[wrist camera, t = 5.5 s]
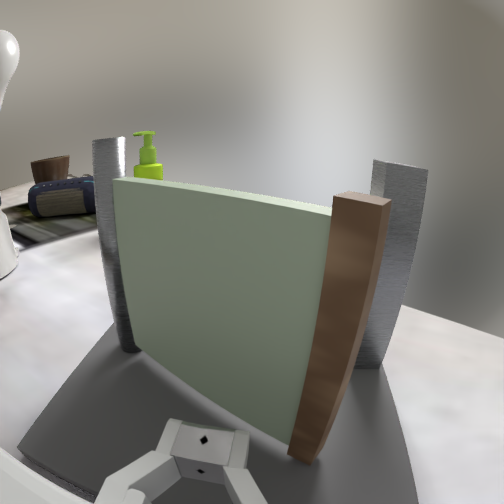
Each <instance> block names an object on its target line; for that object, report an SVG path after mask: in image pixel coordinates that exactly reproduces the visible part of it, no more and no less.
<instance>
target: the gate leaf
mask: <svg viewBox="0 0 504 504" xmlns="http://www.w3.org/2000/svg"><path fill="white" fill-rule="evenodd" d="M112 181H113V198H114V211H115V222H116V232H117V241H118V250H119V257H120V265H121V272H122V278H123V284H124V290H125V296H126V302H127V307H128V312H129V318H130V322H131V327H132V332H133V336H134V341H135V345H137V346H138V347H139V348H140V349H141V350H143V351H144V352H145V353H146V354H148V355H149V356H150V357H151V358H153V359H154V360H155V361H157V362H158V363H159V364H160V365H162V366H163V367H164V368H166V369H167V370H168V371H170V372H171V373H172V374H174V375H175V376H176V377H178V378H179V379H181V380H182V381H183V382H185V383H186V384H188V385H189V386H190V387H192V388H193V389H195V390H196V391H198V392H199V393H201V394H202V395H203V396H205V397H206V398H208V399H209V400H211V401H213V402H214V403H216V404H217V405H219V406H220V407H222V408H223V409H225V410H227V411H228V412H230V413H231V414H233V415H235V416H236V417H238V418H240V419H241V420H243V421H245V422H246V423H248V424H250V425H251V426H253V427H255V428H257V429H258V430H260V431H262V432H264V433H266V434H267V435H269V436H271V437H273V438H275V439H277V440H279V441H280V442H282V443H284V444H286V445H288V446H289V447H288V451H287V455H289V456H291V457H293V458H295V459H297V460H299V461H301V462H303V463H305V464H307V465H309V466H310V465H311V464H312V463H313V461H314V460H315V458H316V457H317V456H318V454H319V453H320V451H321V450H322V448H323V447H324V444H325V442H326V440H327V437H328V435H329V433H330V430H331V428H332V425H333V423H334V420H335V418H336V415H337V413H338V410H339V407H340V405H341V402H342V399H343V397H344V394H345V391H346V388H347V386H348V383H349V380H350V377H351V374H352V371H353V368H354V365H355V362H356V358H357V355H358V352H359V349H360V345H361V342H362V339H363V335H364V332H365V328H366V324H367V321H368V317H369V313H370V309H371V305H372V301H373V297H374V293H375V289H376V285H377V280H378V276H379V271H380V266H381V261H382V256H383V251H384V246H385V240H386V235H387V229H388V223H389V216H390V209H391V202H392V199H387V198H382V197H377V196H373V195H367V194H362V193H357V192H351V191H348V192H344V193H341V194H338V195H334V196H333V205H332V208H330V207H325V206H320V205H315V204H309V203H305V202H298V201H294V200H288V199H283V198H277V197H272V196H266V195H260V194H254V193H248V192H242V191H235V190H229V189H222V188H215V187H208V186H201V185H194V184H186V183H179V182H170V181H162V180H154V179H145V178H135V177H123V178H117V179H112Z"/></svg>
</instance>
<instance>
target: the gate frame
mask: <svg viewBox="0 0 504 504" xmlns="http://www.w3.org/2000/svg"><path fill="white" fill-rule="evenodd" d="M125 145H126V137H119V138H108V139H99V140H93V141H92V151H93V178H94V194H95V206H96V216H97V226H98V234H99V242H100V249H101V256H102V262H103V268H104V274H105V280H106V285H107V291H108V296H109V301H110V305H111V310H112V314H113V319H114V323H113V324H112V325H111V327H110V328H109V329H108V330H107V331H106V332H105V334H104V335H103V336H102V337H101V338H100V340H99V341H98V342H97V343H96V344H95V346H94V347H93V348H92V349H91V350H90V352H89V353H88V354H87V355H86V356H85V358H84V359H83V360H82V361H81V363H80V364H79V365H78V366H77V368H76V369H75V370H74V371H73V373H72V374H71V375H70V376H69V378H68V379H67V380H66V381H65V383H64V384H63V385H62V387H61V388H60V389H59V390H58V392H57V393H56V394H55V396H54V397H53V398H52V399H51V401H50V402H49V403H48V405H47V406H46V407H45V409H44V410H43V411H42V413H41V414H40V415H39V417H38V418H37V420H36V421H35V422H34V424H33V425H32V426H31V428H30V429H29V431H28V432H27V433H26V435H25V436H24V438H23V439H22V440H21V442H20V443H19V445H18V446H17V448H18V449H19V450H20V451H21V452H22V454H23V455H24V456H25V457H27V458H28V459H30V460H31V461H33V462H35V463H36V464H38V465H39V466H41V467H43V468H44V469H46V470H48V471H49V472H51V473H53V474H54V475H56V476H58V477H60V478H62V479H64V480H65V481H67V482H69V483H71V484H73V485H75V486H77V487H79V488H81V489H83V490H85V491H87V492H89V493H92V494H94V495H96V496H98V494H99V492H100V490H101V488H102V486H103V484H104V482H105V480H106V478H107V477H108V476H110V475H112V474H114V473H115V472H117V471H119V470H121V469H122V468H124V467H126V466H127V465H129V464H131V463H132V462H134V461H136V460H137V459H139V458H140V457H142V456H144V455H145V454H147V453H148V452H150V451H156V448H157V446H158V443H159V441H160V439H161V436H162V434H163V431H164V429H165V426H166V424H167V422H168V420H169V419H170V418H172V419H177V420H181V421H185V422H190V423H195V424H201V425H206V426H214V427H221V428H229V429H236V430H243V431H250V440H249V451H248V460H247V466H246V469H248V470H249V472H250V474H251V476H252V478H253V479H254V481H255V483H256V485H257V486H258V488H259V490H260V491H261V493H262V495H263V497H264V498H265V500H266V501H267V503H268V504H419V503H418V497H417V492H416V487H415V482H414V478H413V473H412V469H411V464H410V460H409V456H408V452H407V448H406V444H405V440H404V436H403V432H402V428H401V425H400V421H399V417H398V414H397V410H396V407H395V404H394V400H393V397H392V393H391V390H390V387H389V384H388V381H387V377H386V374H385V371H384V368H383V365H382V361H383V358H384V356H385V353H386V350H387V347H388V345H389V342H390V339H391V336H392V333H393V330H394V327H395V324H396V320H397V317H398V314H399V311H400V307H401V304H402V300H403V297H404V293H405V290H406V286H407V282H408V278H409V274H410V270H411V266H412V262H413V258H414V253H415V249H416V243H417V239H418V234H419V229H420V223H421V217H422V211H423V205H424V198H425V192H426V184H427V176H428V170H427V169H423V168H419V167H415V166H411V165H405V164H399V163H394V162H388V161H381V160H374V161H373V171H372V181H371V191H370V195H373V196H377V197H382V198H387V199H392V202H391V209H390V216H389V223H388V229H387V235H386V240H385V246H384V251H383V256H382V261H381V266H380V271H379V276H378V280H377V285H376V289H375V293H374V297H373V301H372V305H371V309H370V313H369V317H368V321H367V324H366V328H365V332H364V335H363V339H362V342H361V345H360V349H359V352H358V355H357V358H356V362H355V365H354V368H353V371H352V374H351V377H350V380H349V383H348V386H347V388H346V391H345V394H344V397H343V399H342V402H341V405H340V407H339V410H338V413H337V415H336V418H335V420H334V423H333V425H332V428H331V430H330V433H329V435H328V437H327V440H326V442H325V444H324V447H323V448H322V450H321V451H320V453H319V454H318V456H317V457H316V458H315V460H314V461H313V463H312V464H311V465H310V466H309V465H307V464H305V463H303V462H301V461H299V460H297V459H295V458H293V457H291V456H289V455H287V451H288V447H289V446H288V445H286V444H284V443H282V442H280V441H279V440H277V439H275V438H273V437H271V436H269V435H267V434H266V433H264V432H262V431H260V430H258V429H257V428H255V427H253V426H251V425H250V424H248V423H246V422H245V421H243V420H241V419H240V418H238V417H236V416H235V415H233V414H231V413H230V412H228V411H227V410H225V409H223V408H222V407H220V406H219V405H217V404H216V403H214V402H213V401H211V400H209V399H208V398H206V397H205V396H203V395H202V394H201V393H199V392H198V391H196V390H195V389H193V388H192V387H190V386H189V385H188V384H186V383H185V382H183V381H182V380H181V379H179V378H178V377H176V376H175V375H174V374H172V373H171V372H170V371H168V370H167V369H166V368H164V367H163V366H162V365H160V364H159V363H158V362H157V361H155V360H154V359H153V358H151V357H150V356H149V355H148V354H146V353H145V352H144V351H143V350H141V349H140V348H139V347H138V346H137V345H135V341H134V336H133V332H132V327H131V322H130V318H129V312H128V307H127V302H126V296H125V290H124V284H123V278H122V272H121V265H120V257H119V250H118V241H117V232H116V222H115V211H114V198H113V181H112V179H117V178H123V177H126V146H125ZM151 503H152V504H233V502H232V500H231V498H230V495H229V493H228V491H227V489H226V487H225V485H223V484H218V483H213V482H208V481H203V480H197V479H192V478H187V477H182V476H181V478H180V479H179V480H178V481H177V482H175V483H174V484H173V485H172V486H171V487H169V488H168V489H167V490H166V491H164V492H163V493H162V494H161V495H159V496H158V497H157V498H155V499H154V500H153V501H152V502H151Z"/></svg>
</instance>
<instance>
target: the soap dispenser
mask: <svg viewBox="0 0 504 504" xmlns="http://www.w3.org/2000/svg"><path fill="white" fill-rule="evenodd" d="M155 134H156V133H155V132H153V131H142V132H137V133H134V134H133V136H141V135H144V147H142V148H140V164H139V165H136V166H134V177H135V178H145V179H154V180H162V181H163V165H162V164H157V163H156V148H155V147H154V146H152V135H155Z"/></svg>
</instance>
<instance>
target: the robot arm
mask: <svg viewBox="0 0 504 504" xmlns="http://www.w3.org/2000/svg"><path fill="white" fill-rule="evenodd" d="M19 55H20V51H19V45H18V42H17V40H16V39H15V37H14V36H13V35H12V34H11V33H9V32H7V31H4V30H0V110H1V106H2V102H3V98H4V94H5V91H6V88H7V85H8V83H9V81H10V79H11V77H12V75H13V73H14V72H15V70H16V67H17V65H18V62H19ZM0 196H1V193H0ZM0 205H1V197H0ZM18 255H19V249H18V248H15V247H14V244H13V240H12V237H11V233H10V229H9V225H8V221H7V217H6V215H5V214H4V213H3V212H2V211H1V209H0V279H1V278H3V277H4V276H6V275H7V274H9V273H10V272H11V271H12V270H13V269H14V268H15V267H16V265H17V263H18V260H17V257H18ZM249 440H250V431H243V430H236V429H229V428H221V427H214V426H206V425H201V424H195V423H190V422H185V421H181V420H177V419H172V418H170V419H169V420H168V422H167V424H166V426H165V429H164V431H163V434H162V436H161V439H160V441H159V443H158V446H157V448H156V451H150V452H148V453H147V454H145V455H144V456H142V457H140V458H139V459H137V460H136V461H134V462H132V463H131V464H129V465H127V466H126V467H124V468H122V469H121V470H119V471H117V472H115V473H114V474H112V475H110V476H108V477H107V478H106V480H105V482H104V484H103V486H102V488H101V490H100V492H99V494H98V496H97V498H96V500H95V502H94V504H152V503H151V502H152V501H153V500H154V499H155V498H157V497H158V496H159V495H161V494H162V493H163V492H164V491H166V490H167V489H168V488H169V487H171V486H172V485H173V484H174V483H175V482H177V481H178V480H179V479H180V478H181V476H182V477H187V478H192V479H197V480H203V481H208V482H213V483H218V484H223V485H225V487H226V489H227V491H228V493H229V495H230V498H231V500H232V502H233V504H268V503H267V501H266V500H265V498H264V497H263V495H262V493H261V491H260V490H259V488H258V486H257V485H256V483H255V481H254V479H253V478H252V476H251V474H250V472H249V470H248V469H246V466H247V460H248V451H249ZM0 504H93V503H91V502H89V501H87V500H85V499H82V498H80V497H78V496H76V495H74V494H73V493H71V492H69V491H67V490H65V489H63V488H61V487H60V486H58V485H56V484H54V483H53V482H51V481H49V480H47V479H46V478H44V477H43V476H41V475H39V474H38V473H36V472H35V471H33V470H31V469H30V468H28V467H27V466H25V465H24V464H23V463H21V462H20V461H18V460H17V459H15V458H14V457H13V456H11V455H10V454H9V453H7V452H6V451H5V450H3V449H2V448H1V447H0Z"/></svg>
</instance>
